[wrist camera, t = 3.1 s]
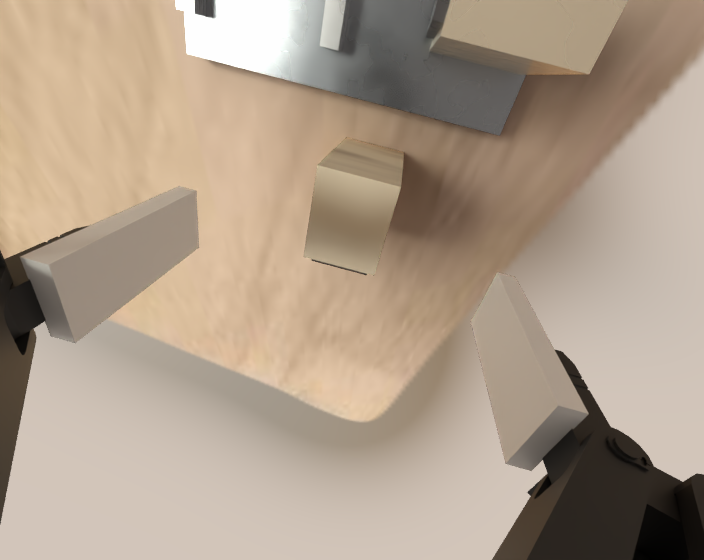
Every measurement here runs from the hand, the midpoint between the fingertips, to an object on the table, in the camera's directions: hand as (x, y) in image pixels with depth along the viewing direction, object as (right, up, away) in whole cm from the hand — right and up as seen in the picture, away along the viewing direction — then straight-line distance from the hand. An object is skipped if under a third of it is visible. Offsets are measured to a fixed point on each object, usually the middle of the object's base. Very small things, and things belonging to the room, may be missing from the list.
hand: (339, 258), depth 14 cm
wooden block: (+2, +6, +9) cm, 11 cm away
